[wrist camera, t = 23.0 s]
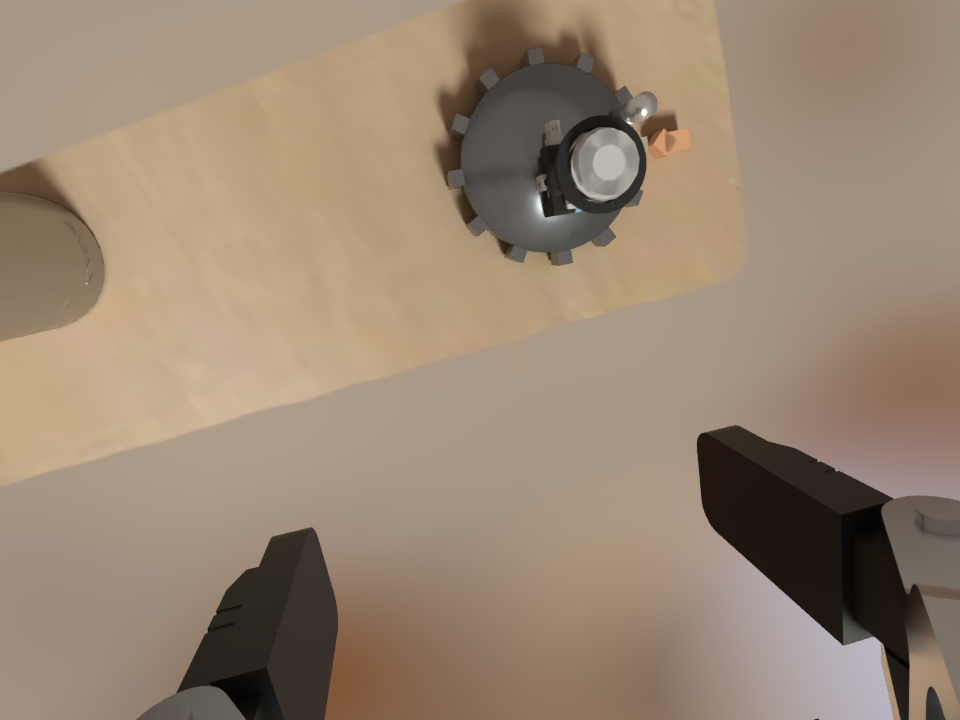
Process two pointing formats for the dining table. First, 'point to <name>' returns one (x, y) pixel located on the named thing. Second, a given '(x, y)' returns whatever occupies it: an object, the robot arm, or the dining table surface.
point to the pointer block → (668, 142)
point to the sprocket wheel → (534, 153)
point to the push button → (591, 166)
